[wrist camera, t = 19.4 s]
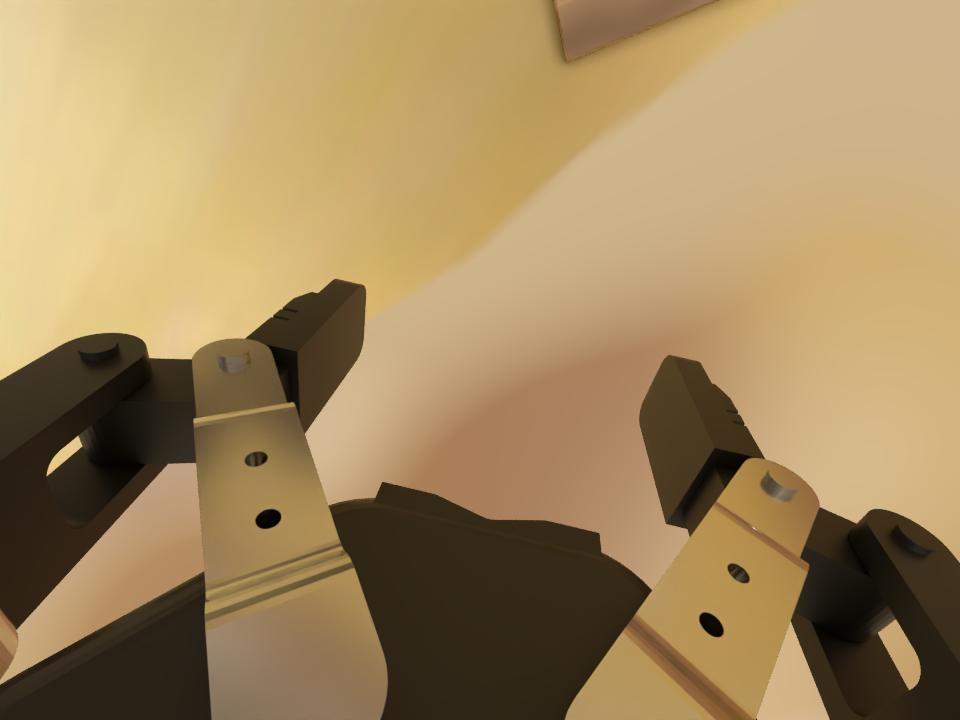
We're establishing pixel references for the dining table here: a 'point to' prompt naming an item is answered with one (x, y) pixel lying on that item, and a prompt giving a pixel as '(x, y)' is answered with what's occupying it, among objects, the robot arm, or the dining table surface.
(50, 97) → the dining table surface
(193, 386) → the robot arm
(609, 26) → the block
